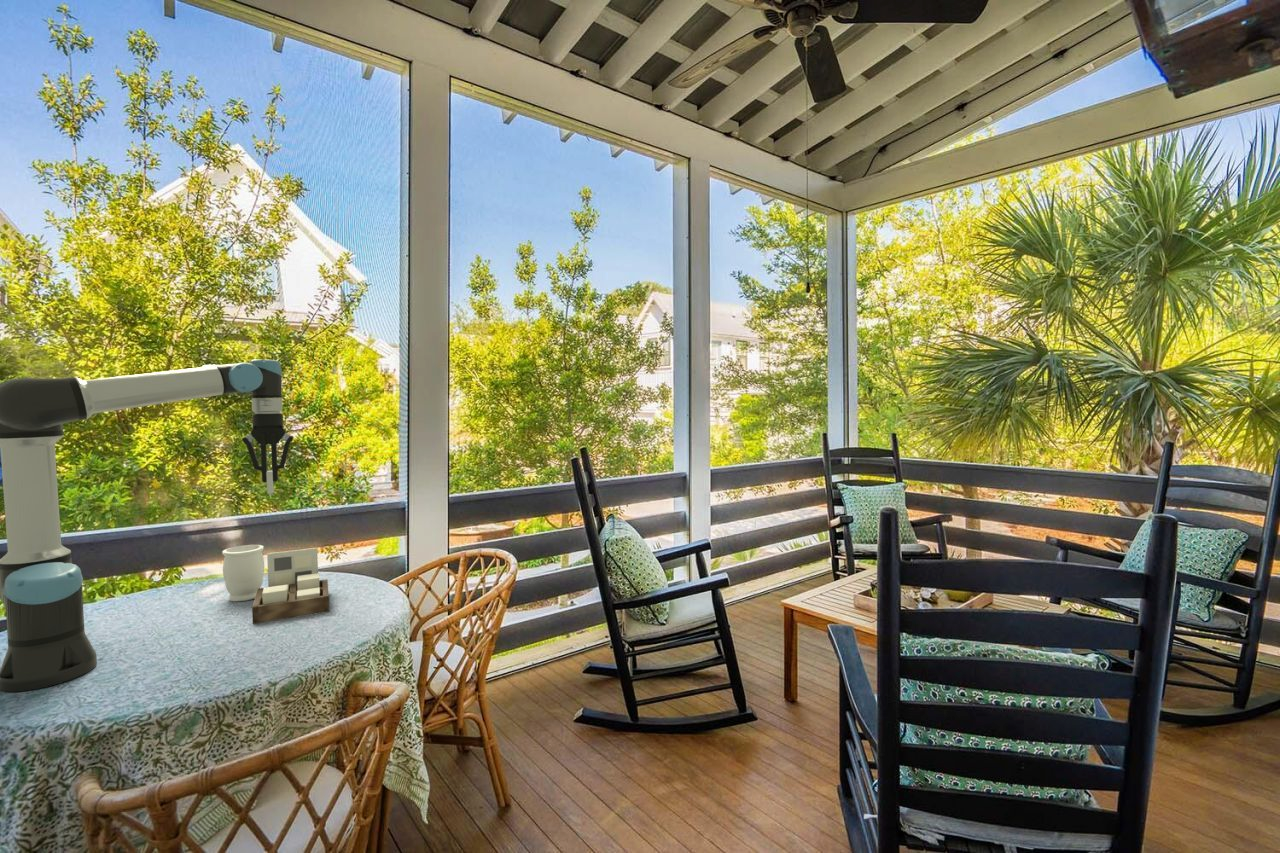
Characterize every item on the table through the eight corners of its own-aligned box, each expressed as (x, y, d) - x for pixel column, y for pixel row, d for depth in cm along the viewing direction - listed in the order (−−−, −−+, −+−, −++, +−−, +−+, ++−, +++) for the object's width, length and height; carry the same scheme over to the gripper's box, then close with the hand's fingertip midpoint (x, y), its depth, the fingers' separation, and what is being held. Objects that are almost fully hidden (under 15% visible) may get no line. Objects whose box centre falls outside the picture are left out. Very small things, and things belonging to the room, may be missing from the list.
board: (252, 623, 155) (252, 607, 155) (258, 603, 171) (257, 588, 170) (329, 611, 164) (328, 596, 163) (327, 593, 179) (327, 579, 179)
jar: (272, 595, 178) (270, 547, 177) (234, 605, 169) (232, 554, 168) (255, 589, 183) (253, 542, 183) (217, 599, 175) (215, 549, 174)
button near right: (297, 610, 162) (296, 596, 162) (297, 604, 167) (297, 590, 166) (320, 606, 164) (319, 592, 164) (320, 600, 169) (319, 587, 169)
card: (268, 600, 173) (267, 554, 172) (269, 599, 174) (267, 553, 173) (318, 593, 179) (317, 548, 179) (318, 592, 180) (317, 547, 180)
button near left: (262, 608, 158) (262, 593, 158) (264, 601, 163) (263, 587, 162) (286, 604, 160) (286, 590, 160) (287, 598, 165) (287, 584, 165)
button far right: (297, 594, 169) (297, 580, 168) (298, 589, 173) (297, 575, 173) (319, 591, 171) (319, 577, 171) (319, 586, 176) (319, 573, 176)
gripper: (239, 413, 163) (242, 496, 164) (293, 412, 169) (295, 493, 171) (242, 413, 170) (245, 493, 171) (293, 412, 176) (296, 489, 177)
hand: (270, 493), depth 171 cm, fingers closed
